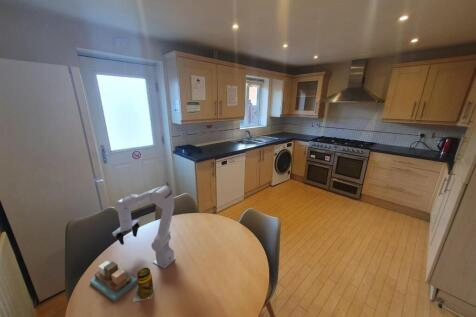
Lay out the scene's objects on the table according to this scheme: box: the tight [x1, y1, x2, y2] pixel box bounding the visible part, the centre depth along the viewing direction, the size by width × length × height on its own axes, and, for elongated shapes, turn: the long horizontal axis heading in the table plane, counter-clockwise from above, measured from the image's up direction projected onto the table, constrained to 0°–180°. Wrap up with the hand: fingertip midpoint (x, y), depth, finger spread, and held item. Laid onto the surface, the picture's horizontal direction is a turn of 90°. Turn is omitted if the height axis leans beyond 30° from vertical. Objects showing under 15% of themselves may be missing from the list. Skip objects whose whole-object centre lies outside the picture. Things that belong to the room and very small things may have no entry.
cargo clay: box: [111, 268, 126, 285], centre depth 89 cm, size 4×4×4 cm
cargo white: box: [98, 260, 111, 276], centre depth 93 cm, size 4×4×4 cm
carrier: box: [94, 261, 132, 293], centre depth 91 cm, size 18×7×8 cm, turn 63°
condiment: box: [132, 267, 157, 303], centre depth 86 cm, size 7×8×12 cm
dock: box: [89, 267, 138, 303], centre depth 92 cm, size 20×11×2 cm, turn 63°
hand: (128, 240), depth 108 cm, fingers open, 7 cm apart
